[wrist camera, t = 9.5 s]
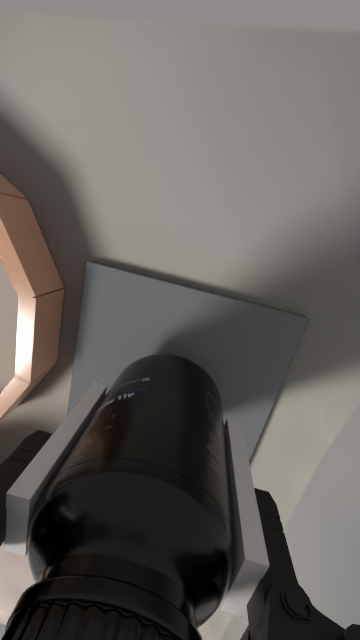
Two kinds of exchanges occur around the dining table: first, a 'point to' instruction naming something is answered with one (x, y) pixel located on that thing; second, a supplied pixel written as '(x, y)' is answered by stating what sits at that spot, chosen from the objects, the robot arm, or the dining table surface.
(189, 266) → the dining table surface
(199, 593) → the supplement bottle
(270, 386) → the mat
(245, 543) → the robot arm
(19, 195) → the pink polygonal hoop
